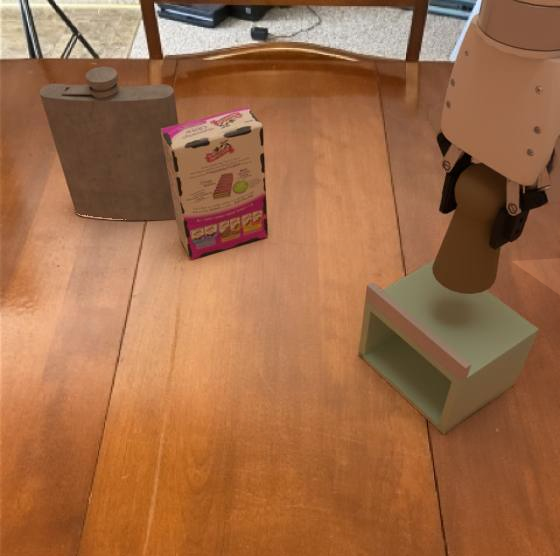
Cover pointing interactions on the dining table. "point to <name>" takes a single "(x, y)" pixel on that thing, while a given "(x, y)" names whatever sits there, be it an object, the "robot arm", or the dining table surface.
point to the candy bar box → (217, 181)
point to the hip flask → (113, 145)
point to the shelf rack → (443, 345)
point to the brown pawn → (472, 232)
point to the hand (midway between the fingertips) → (477, 222)
